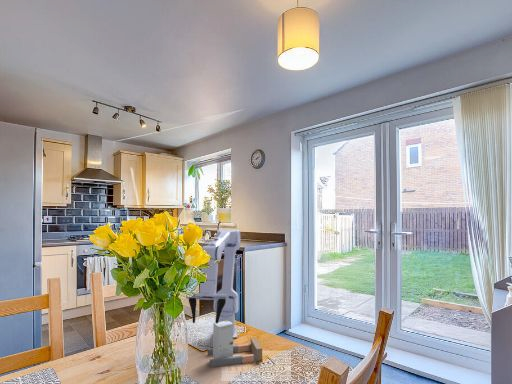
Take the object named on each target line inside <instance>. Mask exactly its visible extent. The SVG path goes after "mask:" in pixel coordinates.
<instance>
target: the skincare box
mask: <svg viewBox="0 0 512 384" xmlns="http://www.w3.org/2000/svg"><path fill="white" fill-rule="evenodd" d="M212 327H213V331H212V332H213V333H212V338H213V339H212V343H213V344H212V348H213V355H212V359H217V358H225V357H233V356H234V353H233V346H234V338H233V323H231V322H230V321H222V322H218V323H215V322H213V325H212Z"/></svg>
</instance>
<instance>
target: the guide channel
mask: <svg viewBox="0 0 512 384" xmlns="http://www.w3.org/2000/svg"><path fill="white" fill-rule="evenodd" d="M248 351H251V354H244V355H243V354H242V355H233V357H225V358H217V359H213V358H210V359H209V367H210V368H212V367H219V366H228V365H236V364H243V363H253V362H260V361H263V347H262V346H261V343H260V342H259V341H258V339H257V337H251V338H250V343H244V344H238V345H237V344H236V345H233V354H234V353H241V352H248ZM207 356H213V347H211V348H207Z"/></svg>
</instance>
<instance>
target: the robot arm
mask: <svg viewBox="0 0 512 384" xmlns="http://www.w3.org/2000/svg"><path fill="white" fill-rule="evenodd" d="M215 235H216V237H214V238H213V239H212V240H211V241H210V243H209V244H208V245H204V246H203V247H202V248H203V250H205V251H206V252H207V253H208V254H209V255H210V256H211V259H210V261H209V262H208V264H207V265H212V266H211V267H208V268H202V267H201V271H202V272H204V273H206V274H207V281H206V282H204V283H200V282H199V284H200V285H199V293H197V292H196V295H195V296H192V297H188V296H186V295H185V300H188V304H189V306H190V310H191V315H192V317H191V318H192V323H193V324H196V312H197V311H196V309H197V300H201V301H202V300H208V301H213V311H214V313H216V314H215V322H214V323H218V322H222V321H230V322H231V323H233V339H235V338H237V339H238V335H237V333H236V314H237V313H238V312H239V309H240V308H239V307H240V300H239V299H240V296H239V294H238V292H237V291H235V290H234V277H235V275H234V274H235V260H236V253H237V251H238V250H240V246H241V230H239V229H218V230H217V231H216V234H215ZM223 252H224V259H223V260H224V261H223V269H222V283H221V288H220V290H217V287H218V284H217V283H218V272H219V263H220V262H221V258H222V255H223ZM215 260H219V261H218V262H216V263H214V261H215ZM201 271H200V272H201ZM210 297H211V298H210Z"/></svg>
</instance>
